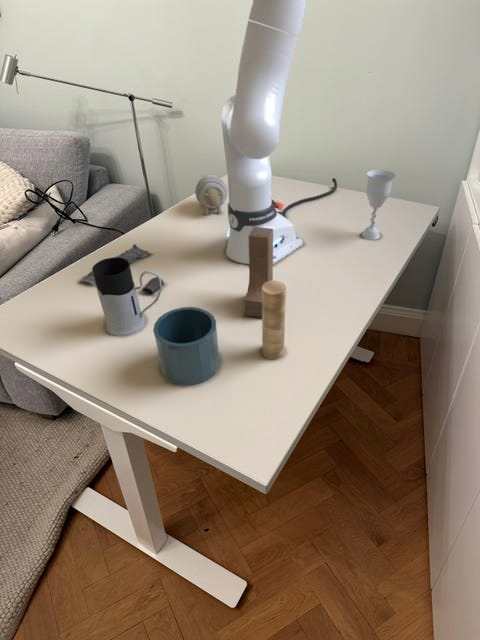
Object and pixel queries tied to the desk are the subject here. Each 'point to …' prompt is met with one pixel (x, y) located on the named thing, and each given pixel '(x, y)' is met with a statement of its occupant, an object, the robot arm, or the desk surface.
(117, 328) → the glass holder
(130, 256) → the grey fabric pouch
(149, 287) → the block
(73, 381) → the desk surface
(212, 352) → the crock
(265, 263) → the wooden block
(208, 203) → the toy sheep
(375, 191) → the chalice
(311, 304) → the desk surface
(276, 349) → the rolling pin
